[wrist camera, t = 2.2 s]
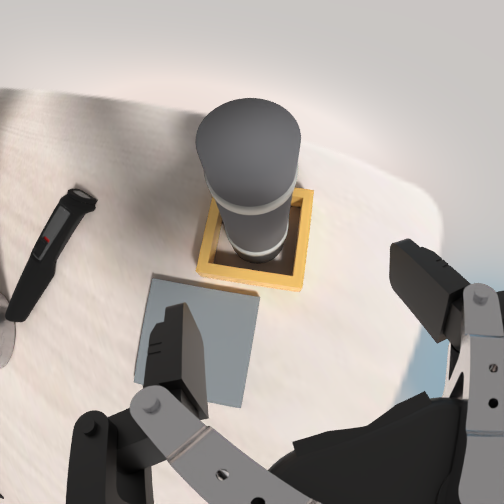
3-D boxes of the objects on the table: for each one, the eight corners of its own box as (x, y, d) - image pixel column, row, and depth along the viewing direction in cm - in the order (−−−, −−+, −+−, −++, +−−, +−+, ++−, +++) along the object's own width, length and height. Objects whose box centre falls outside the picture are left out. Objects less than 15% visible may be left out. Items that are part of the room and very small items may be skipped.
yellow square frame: (201, 276, 25) (195, 271, 23) (220, 188, 27) (217, 177, 25) (299, 292, 25) (302, 288, 23) (310, 200, 27) (313, 190, 25)
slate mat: (136, 381, 23) (133, 382, 23) (155, 279, 25) (152, 278, 25) (241, 406, 22) (240, 408, 22) (260, 297, 25) (259, 297, 24)
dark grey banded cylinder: (225, 259, 26) (180, 176, 12) (235, 207, 27) (208, 94, 13) (281, 268, 25) (297, 189, 12) (289, 215, 26) (307, 102, 13)
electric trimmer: (14, 310, 26) (-5, 307, 23) (80, 189, 29) (65, 176, 26) (32, 331, 25) (12, 329, 22) (102, 203, 28) (87, 190, 25)
